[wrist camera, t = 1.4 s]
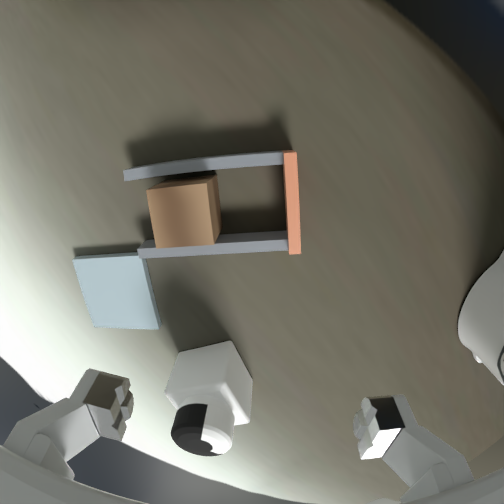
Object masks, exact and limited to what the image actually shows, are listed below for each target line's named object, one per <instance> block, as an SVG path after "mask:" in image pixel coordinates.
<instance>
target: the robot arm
mask: <svg viewBox="0 0 504 504" xmlns="http://www.w3.org/2000/svg"><path fill="white" fill-rule="evenodd" d="M458 334H459V338H460V341H461V342H462V344H463V345H464V346H466V347H467V348H468V349H470V350H471V351H472V353H473V356H474V358H475V360H476V361H477V362H478V363H482V362H483V364H484V365H485V366H486V367H487V368H488V369H489V370H490V371H491V372H492V373H493V374H494V376H495V377H496V378H497V379H498V380H499V381H500V382H501V383H502V384H503V385H504V251H503V252H502V254H501V256H500V257H499V259H498V260H497V261H496V262H495V263H494V264H493V265H492V266H491V267H490V268H488V269H487V270H486V271H485V272H484V273H483V274H482V276H481V277H480V278H479V279H478V280H477V282H476V283H475V284H474V286H473V287H472V289H471V291H470V292H469V294H468V296H467V298H466V300H465V302H464V304H463V307H462V309H461V313H460V316H459V321H458ZM129 388H130V382H129V379H128V378H125V377H121V376H117V375H113V374H109V373H105V372H101V371H98V370H94V369H90V368H89V369H88V370H86V372H85V373H84V375H83V376H82V378H81V380H80V381H79V383H78V385H77V386H76V388H75V390H74V391H73V393H72V395H71V396H70V398H64V399H62V400H60V401H58V402H56V403H54V404H52V405H51V406H49V407H47V408H45V409H42V410H40V411H39V412H37V413H34V414H32V415H30V416H29V417H27V418H24V419H22V420H20V421H18V422H17V424H16V425H15V427H14V428H13V430H12V432H11V433H10V435H9V437H8V438H7V440H6V441H5V443H4V445H3V446H1V445H0V504H148V503H143V502H139V501H135V500H132V499H128V498H124V497H121V496H117V495H114V494H111V493H108V492H104V491H101V490H98V489H95V488H92V487H89V486H87V485H84V484H81V483H78V482H76V481H73V478H74V476H75V475H74V473H73V471H72V470H71V468H70V467H69V466H68V464H67V463H66V462H67V461H68V460H70V459H71V458H72V457H74V456H75V455H76V454H78V453H79V452H80V451H82V450H83V449H84V448H85V447H87V446H88V445H90V444H91V443H92V442H94V441H95V440H96V439H97V438H99V437H100V436H104V437H107V438H111V439H115V440H119V441H122V438H123V435H124V433H125V430H126V424H125V421H126V420H128V419H129V418H130V417H131V414H132V411H133V405H134V402H133V394H132V393H131V392H130V391H129ZM361 406H362V409H361V410H359V411H358V412H357V413H356V415H355V417H354V423H353V429H354V434H355V436H356V437H357V438H358V439H359V440H360V441H359V443H358V445H357V446H358V450H359V454H360V458H361V459H368V458H378V457H382V459H383V460H384V461H385V462H386V463H387V464H388V465H389V466H390V467H391V468H392V469H393V470H394V472H395V473H396V474H397V475H398V476H399V477H400V478H401V479H402V480H403V481H404V482H405V483H406V484H407V485H408V486H409V487H410V489H409V490H408V491H407V492H405V493H404V494H403V495H402V497H401V498H400V499H401V504H504V467H503V468H501V469H499V470H497V471H495V472H492V473H490V474H488V475H486V476H483V477H481V478H479V479H476V480H474V478H473V475H472V473H471V471H470V469H469V466H468V464H467V462H466V459H465V457H464V455H462V454H461V453H459V452H458V451H457V450H455V449H454V448H452V447H451V446H449V445H448V444H447V443H445V442H444V441H442V440H441V439H440V438H438V437H437V436H435V435H434V434H433V433H431V432H430V431H428V430H427V429H426V428H424V427H423V426H418V424H417V422H416V419H415V417H414V415H413V413H412V410H411V408H410V406H409V404H408V402H407V400H406V397H405V396H404V395H392V396H377V397H366V398H364V399H363V401H362V403H361Z"/></svg>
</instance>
